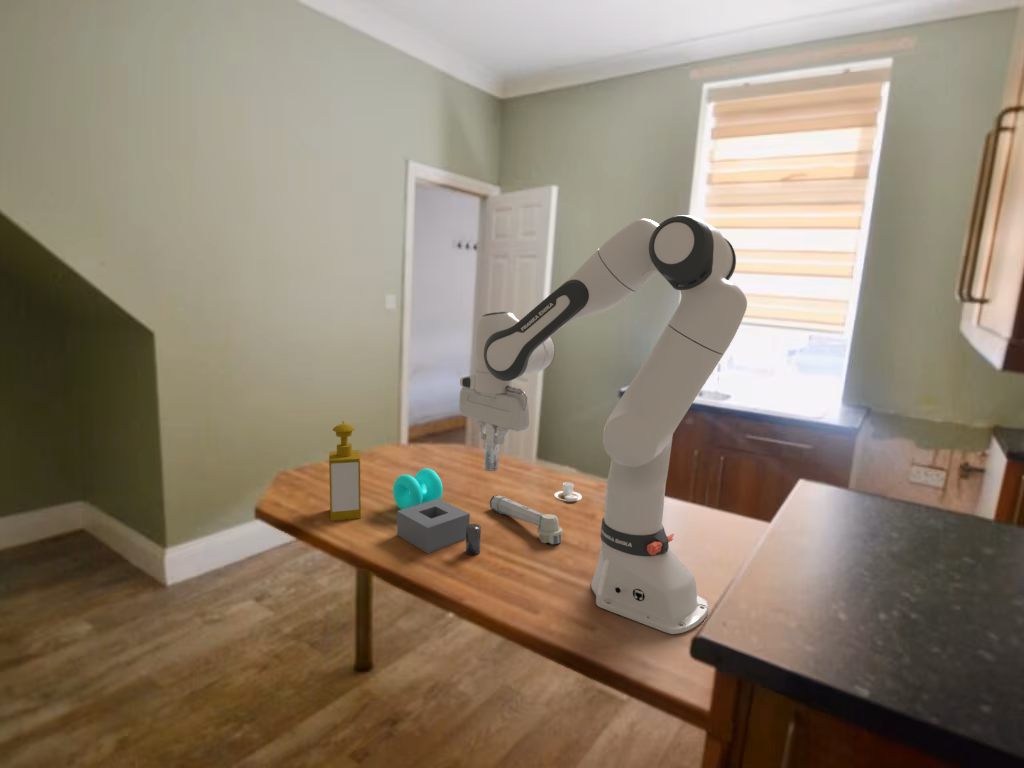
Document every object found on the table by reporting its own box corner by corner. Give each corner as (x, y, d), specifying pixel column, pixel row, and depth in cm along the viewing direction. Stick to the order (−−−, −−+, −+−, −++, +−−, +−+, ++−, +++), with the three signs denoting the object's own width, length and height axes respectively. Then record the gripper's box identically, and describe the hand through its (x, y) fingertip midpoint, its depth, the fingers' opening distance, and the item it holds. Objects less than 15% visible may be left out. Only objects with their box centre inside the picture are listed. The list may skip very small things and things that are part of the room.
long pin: (501, 469, 130) (502, 415, 128) (491, 472, 128) (492, 417, 126) (491, 465, 132) (493, 412, 130) (481, 468, 130) (483, 414, 128)
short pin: (483, 552, 124) (483, 527, 123) (472, 557, 122) (472, 531, 121) (473, 547, 126) (474, 522, 125) (462, 551, 124) (463, 526, 123)
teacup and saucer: (578, 505, 154) (578, 491, 153) (550, 501, 156) (550, 487, 155) (584, 494, 162) (585, 481, 161) (557, 490, 164) (558, 477, 164)
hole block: (469, 537, 131) (469, 513, 130) (427, 553, 123) (427, 528, 122) (437, 521, 139) (438, 498, 138) (397, 534, 131) (397, 511, 130)
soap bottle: (358, 499, 151) (357, 415, 147) (360, 518, 139) (359, 427, 135) (330, 501, 149) (328, 416, 145) (330, 521, 137) (328, 428, 133)
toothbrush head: (503, 492, 150) (566, 512, 130) (504, 517, 150) (567, 540, 130) (486, 496, 147) (549, 517, 127) (488, 521, 147) (550, 546, 127)
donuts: (390, 508, 146) (390, 471, 145) (419, 497, 154) (420, 463, 152) (415, 519, 140) (415, 481, 138) (444, 508, 148) (445, 472, 146)
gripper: (537, 388, 122) (534, 449, 124) (475, 375, 136) (474, 430, 138) (516, 391, 117) (514, 454, 120) (455, 377, 131) (454, 434, 134)
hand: (492, 441), depth 129 cm, fingers closed on long pin, 3 cm apart
